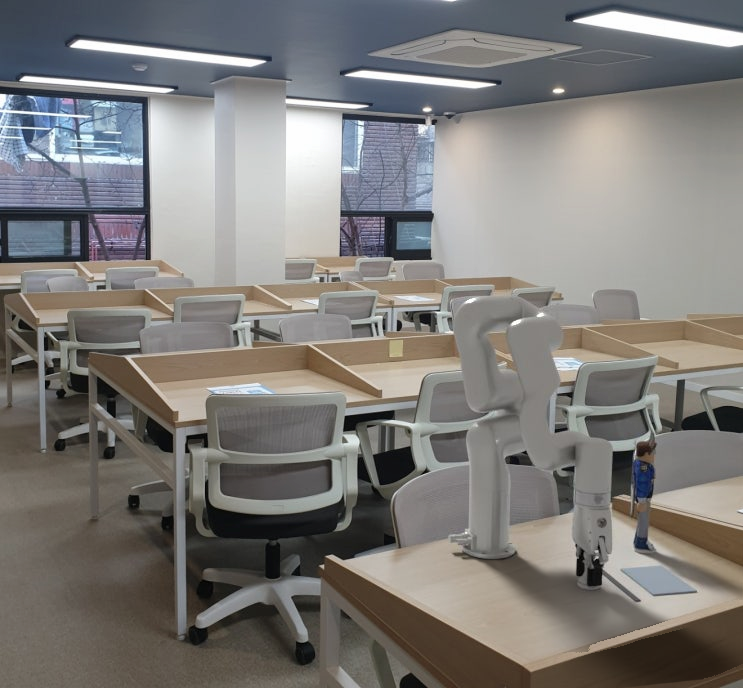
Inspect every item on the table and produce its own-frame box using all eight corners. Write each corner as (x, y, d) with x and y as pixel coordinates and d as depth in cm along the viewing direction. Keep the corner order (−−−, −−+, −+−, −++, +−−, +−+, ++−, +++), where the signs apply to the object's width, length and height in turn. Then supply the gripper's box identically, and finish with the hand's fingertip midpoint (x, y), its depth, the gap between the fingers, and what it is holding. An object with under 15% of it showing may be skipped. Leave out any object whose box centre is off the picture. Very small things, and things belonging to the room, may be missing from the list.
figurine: (656, 558, 198) (662, 431, 194) (629, 556, 199) (635, 430, 195) (651, 542, 208) (657, 421, 204) (625, 540, 209) (631, 420, 205)
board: (635, 601, 174) (635, 600, 174) (595, 568, 191) (595, 566, 191) (702, 595, 177) (702, 594, 177) (656, 563, 194) (656, 562, 194)
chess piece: (574, 581, 184) (575, 546, 183) (595, 581, 184) (597, 545, 183) (580, 590, 179) (582, 554, 178) (603, 590, 179) (604, 553, 178)
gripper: (628, 508, 171) (624, 595, 174) (590, 485, 188) (587, 564, 190) (593, 510, 170) (590, 598, 172) (558, 486, 186) (555, 567, 189)
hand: (588, 579), depth 181 cm, fingers closed on chess piece, 4 cm apart
